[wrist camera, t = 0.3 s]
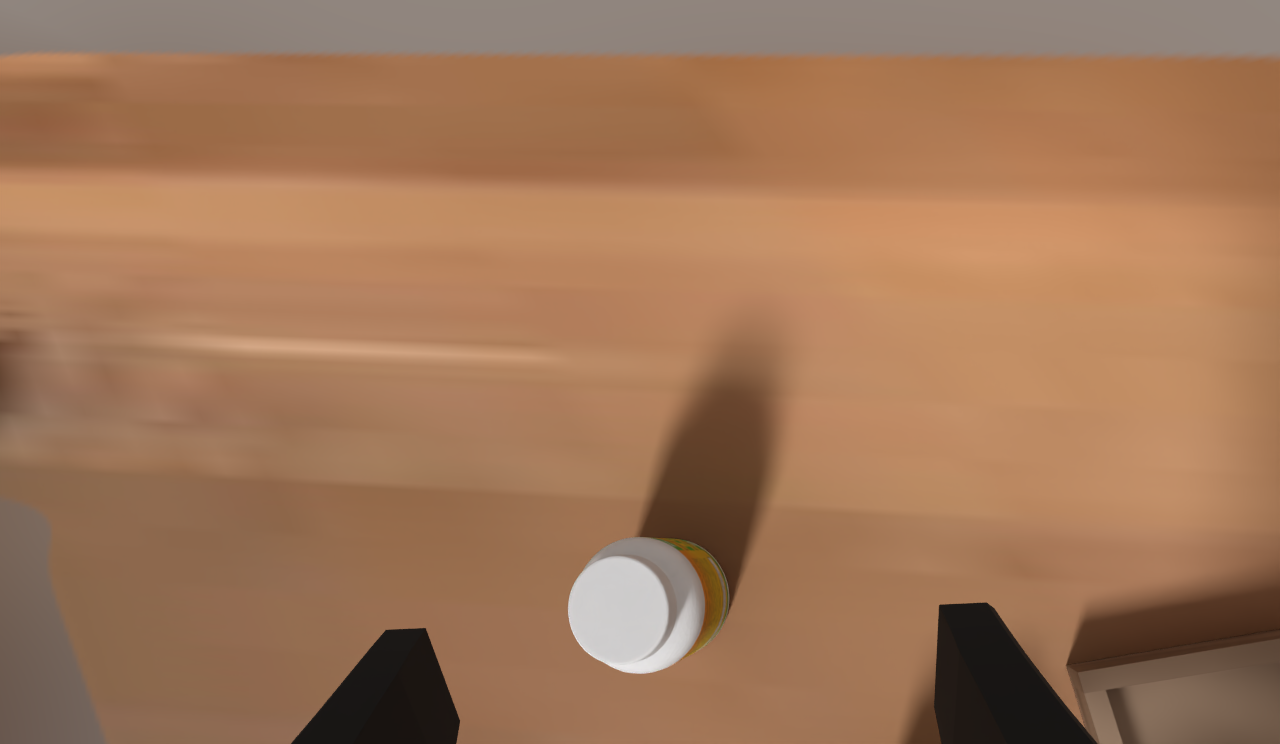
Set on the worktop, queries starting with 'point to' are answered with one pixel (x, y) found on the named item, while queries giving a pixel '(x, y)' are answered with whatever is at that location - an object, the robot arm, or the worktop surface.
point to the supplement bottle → (648, 603)
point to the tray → (1185, 693)
